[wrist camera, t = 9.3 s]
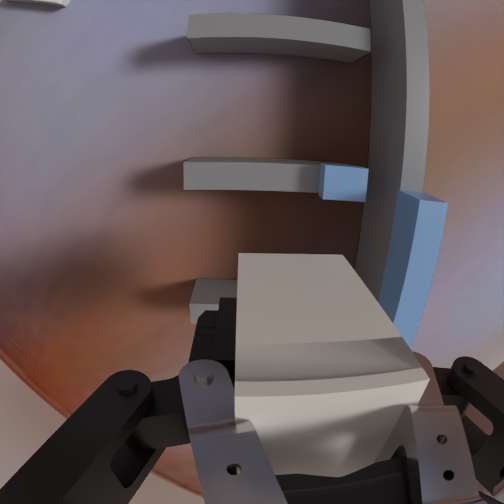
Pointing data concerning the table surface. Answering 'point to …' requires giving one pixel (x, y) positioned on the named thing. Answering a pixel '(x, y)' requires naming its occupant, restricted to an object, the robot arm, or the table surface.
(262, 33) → the rack
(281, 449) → the cream white box
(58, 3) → the external hard drive
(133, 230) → the table surface
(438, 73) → the table surface
